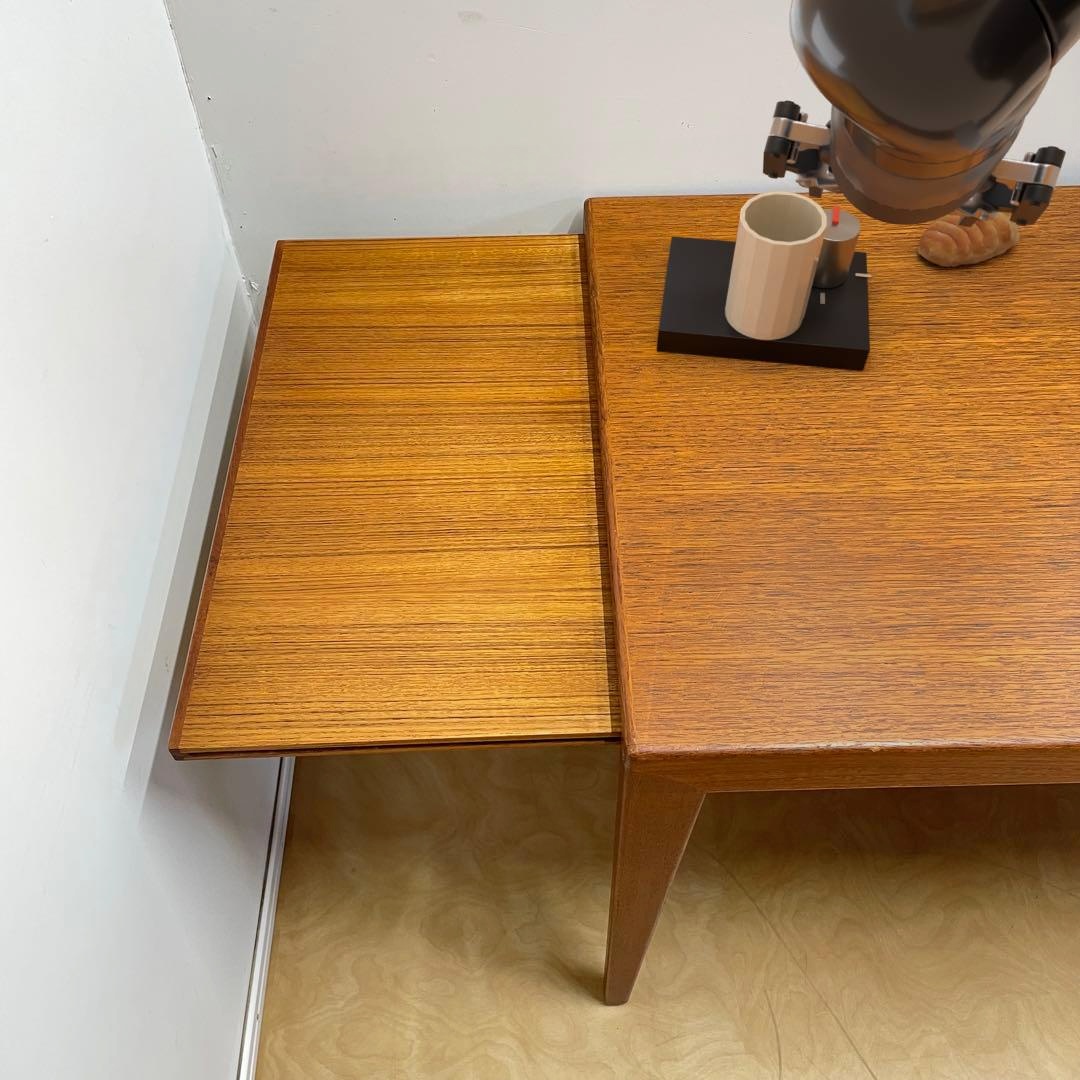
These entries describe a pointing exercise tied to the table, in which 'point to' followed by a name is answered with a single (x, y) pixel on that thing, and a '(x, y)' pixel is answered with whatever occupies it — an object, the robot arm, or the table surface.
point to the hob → (702, 329)
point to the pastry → (967, 240)
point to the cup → (774, 264)
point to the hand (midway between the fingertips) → (893, 193)
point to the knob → (836, 248)
